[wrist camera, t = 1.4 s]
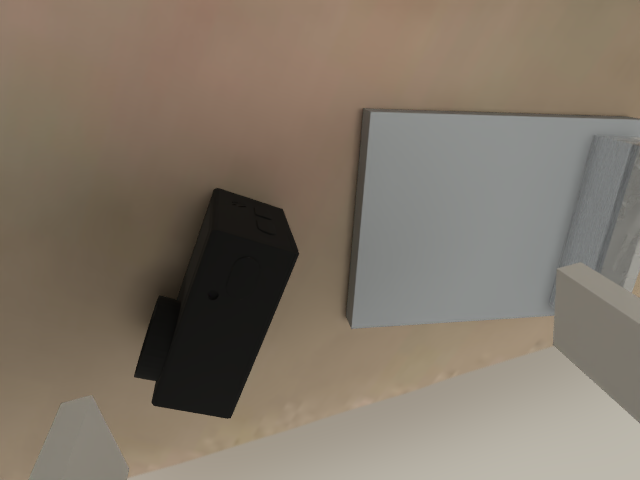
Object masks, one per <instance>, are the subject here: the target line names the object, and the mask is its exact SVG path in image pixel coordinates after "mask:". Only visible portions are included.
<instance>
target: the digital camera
mask: <svg viewBox="0 0 640 480" xmlns="http://www.w3.org/2000/svg"><path fill="white" fill-rule="evenodd" d="M298 255H299V252H298V249H297V246H296V243H295V241H294V238H293V235H292V233H291V230H290V227H289V225H288V222H287V219H286V217H285V214H284V211H283V209H280V208H277V207H274V206H271V205H268V204H265V203H262V202H259V201H256V200H253V199H250V198H247V197H244V196H240V195H237V194H234V193H231V192H228V191H225V190H222V189H219V188H216V189H214V191H213V194H212V197H211V200H210V203H209V206H208V209H207V212H206V215H205V218H204V221H203V224H202V226H201V229H200V232H199V235H198V238H197V241H196V244H195V247H194V250H193V253H192V256H191V259H190V262H189V265H188V268H187V271H186V273H185V276H184V279H183V282H182V285H181V288H180V291H179V294H178V297H177V300H176V299H172V298H168V297H164V296H160V295H159V297H158V299H157V302H156V305H155V308H154V311H153V314H152V317H151V320H150V323H149V327H148V330H147V333H146V336H145V340H144V343H143V346H142V350H141V353H140V356H139V360H138V363H137V367H136V371H135V375H134V377H136V378H142V379H147V380H153V381H156V383H155V388H154V393H153V398H152V404H153V405H154V406H158V407H164V408H170V409H176V410H181V411H187V412H193V413H199V414H205V415H210V416H216V417H221V418H227V419H228V418H231V416H232V414H233V412H234V409H235V407H236V404H237V402H238V400H239V397H240V395H241V393H242V390H243V388H244V386H245V383H246V381H247V378H248V376H249V374H250V371H251V369H252V366H253V364H254V362H255V359H256V357H257V354H258V352H259V350H260V347H261V345H262V342H263V340H264V338H265V335H266V333H267V330H268V328H269V326H270V323H271V321H272V318H273V316H274V314H275V311H276V309H277V306H278V304H279V301H280V299H281V297H282V294H283V292H284V289H285V287H286V284H287V282H288V280H289V277H290V275H291V272H292V270H293V267H294V265H295V263H296V260H297V258H298Z"/></svg>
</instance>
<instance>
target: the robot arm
mask: <svg viewBox="0 0 640 480" xmlns="http://www.w3.org/2000/svg"><path fill="white" fill-rule="evenodd" d="M553 345H554V346H555V347H556V348H557V349H558V350H559V351H560V352H562V353H563V354H564V355H565V356H566V357H567V358H568V359H569V360H570V361H571V362H573V363H574V364H575V365H576V366H577V367H578V368H579V369H580V370H582V371H583V372H584V373H585V374H586V375H587V376H588V377H589V378H590V379H592V380H593V381H594V382H595V383H596V384H597V385H598V386H599V387H601V389H602V390H604V391H605V392H606V393H607V394H608V395H609V396H610V397H611V398H612V399H614V400H615V401H616V402H617V403H618V404H619V405H620V406H621V407H622V408H624V409H625V410H626V411H627V412H628V413H629V414H630V415H631V416H632V417H634V418H635V419H636V420H637V421H638V422H639V423H640V298H639V297H637V296H636V295H634V294H632V293H631V292H629V291H627V290H626V289H624V288H623V287H621V286H619V285H618V284H616V283H614V282H613V281H611V280H609V279H608V278H606V277H604V276H603V275H601V274H600V273H598V272H596V271H595V270H593V269H591V268H590V267H588V266H586V265H585V264H583V263H581V262H579V263H576V264H572V265H568V266H565V267H561V268H557V275H556V295H555V314H554V333H553ZM128 472H129V467H128V465H127V463H126V461H125V459H124V457H123V455H122V453H121V451H120V449H119V447H118V445H117V443H116V441H115V439H114V437H113V435H112V433H111V432H110V430H109V428H108V426H107V424H106V422H105V420H104V418H103V416H102V414H101V412H100V410H99V408H98V406H97V404H96V402H95V400H94V398H93V396H92V395H90V396H86V397H82V398H79V399H75V400H71V401H68V402H64V403H61V405H60V407H59V410H58V412H57V414H56V417H55V419H54V421H53V424H52V426H51V428H50V431H49V433H48V435H47V438H46V440H45V442H44V445H43V447H42V449H41V452H40V454H39V456H38V459H37V461H36V463H35V466H34V468H33V470H32V473H31V475H30V477H29V480H127V476H128Z"/></svg>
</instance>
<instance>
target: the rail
mask: <svg viewBox="0 0 640 480" xmlns="http://www.w3.org/2000/svg"><path fill="white" fill-rule="evenodd" d="M579 262H581V263H583V264H585V265H586V266H588V267H590V268H591V269H593V270H595V271H596V272H598V273H600V274H601V275H603V276H604V277H606V278H608V279H609V280H611V281H613V282H614V283H616V284H618V285H619V286H621V287H623V288H624V289H626V290H627V291H629V292H631V293H632V290H633V287H634V285H635V282H636V279H637V276H638V273H639V270H640V137H638V136H615V135H594V136H593V140H592V144H591V147H590V151H589V155H588V158H587V162H586V166H585V169H584V173H583V177H582V181H581V184H580V188H579V192H578V195H577V199H576V203H575V206H574V210H573V214H572V218H571V221H570V225H569V229H568V232H567V236H566V240H565V244H564V247H563V251H562V255H561V258H560V262H559V266H558V268H561V267H565V266H568V265H572V264H576V263H579ZM556 275H557V273H556ZM555 295H556V277H555V281H554V284H553V288H552V292H551V295H550V299H549V303H548V304H549V305H550V306H551V307H552V308H554V309H555Z"/></svg>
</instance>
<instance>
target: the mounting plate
mask: <svg viewBox="0 0 640 480" xmlns="http://www.w3.org/2000/svg"><path fill="white" fill-rule="evenodd" d="M594 135H615V136H638V137H640V119H638V118H632V117H622V116H590V115H558V114H525V113H493V112H460V111H428V110H396V109H363V119H362V131H361V143H360V155H359V167H358V179H357V191H356V203H355V215H354V227H353V239H352V251H351V263H350V276H349V288H348V300H347V312H346V318H347V320H348V322H349V324H350V326H351V329H353V328H369V327H384V326H400V325H415V324H431V323H446V322H462V321H477V320H493V319H508V318H524V317H539V316H554V314H555V309H554V308H552V307H551V306H550V305H549V304H548V303H549V299H550V295H551V292H552V288H553V284H554V281H555V277H556V273H557V268H558V266H559V262H560V258H561V255H562V251H563V247H564V244H565V240H566V236H567V232H568V229H569V225H570V221H571V218H572V214H573V210H574V206H575V203H576V199H577V195H578V192H579V188H580V184H581V181H582V177H583V173H584V169H585V166H586V162H587V158H588V155H589V151H590V147H591V144H592V140H593V136H594Z"/></svg>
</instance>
